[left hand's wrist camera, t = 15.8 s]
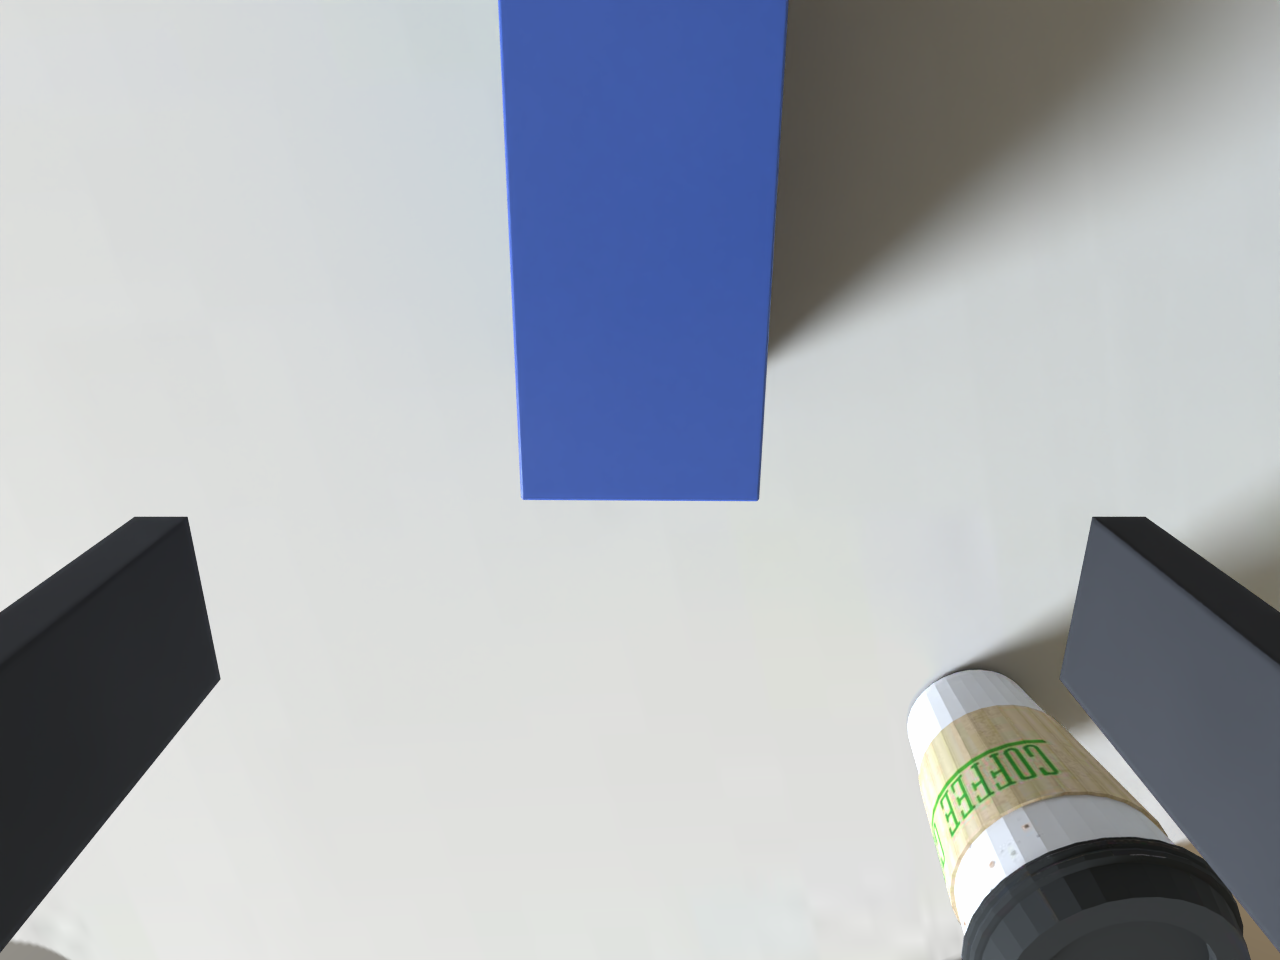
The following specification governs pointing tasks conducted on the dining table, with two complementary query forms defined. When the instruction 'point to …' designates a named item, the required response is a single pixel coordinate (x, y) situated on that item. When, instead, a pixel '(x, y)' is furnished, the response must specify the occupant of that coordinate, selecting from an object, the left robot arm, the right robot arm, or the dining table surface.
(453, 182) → the dining table surface
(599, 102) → the box
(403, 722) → the dining table surface
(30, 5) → the dining table surface
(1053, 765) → the coffee cup
